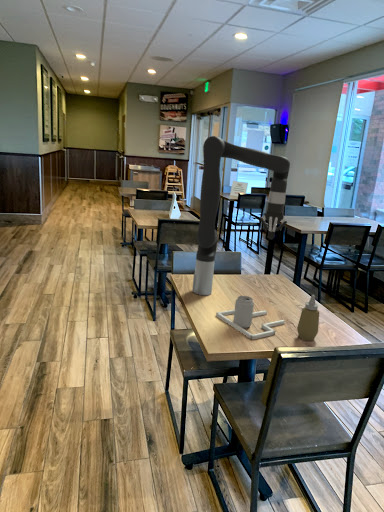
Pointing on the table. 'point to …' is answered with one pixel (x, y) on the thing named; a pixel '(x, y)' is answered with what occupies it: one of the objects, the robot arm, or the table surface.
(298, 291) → the table surface
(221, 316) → the t outline
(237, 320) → the can
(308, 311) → the squeeze bottle
